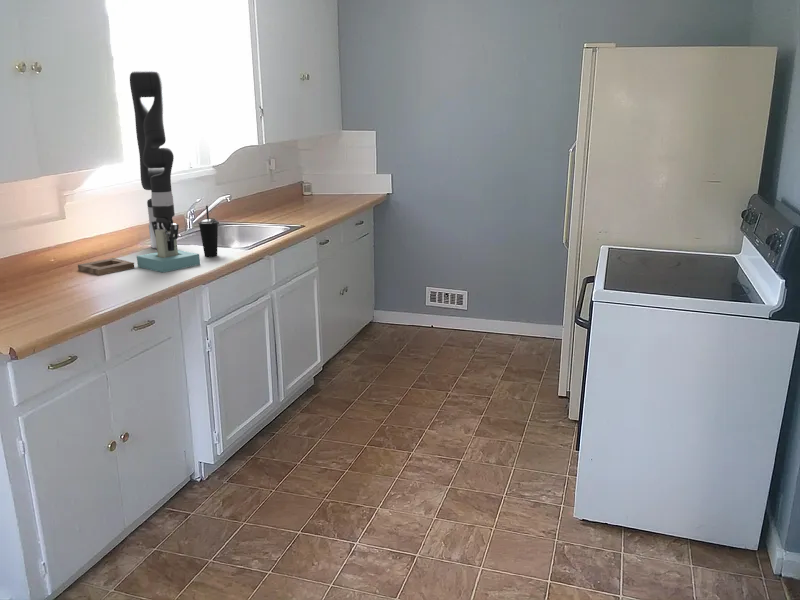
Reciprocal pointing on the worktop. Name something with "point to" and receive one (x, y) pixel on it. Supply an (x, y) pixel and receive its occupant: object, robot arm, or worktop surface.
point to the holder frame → (105, 266)
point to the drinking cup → (209, 235)
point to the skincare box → (164, 244)
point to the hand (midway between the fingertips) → (167, 249)
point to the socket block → (168, 261)
